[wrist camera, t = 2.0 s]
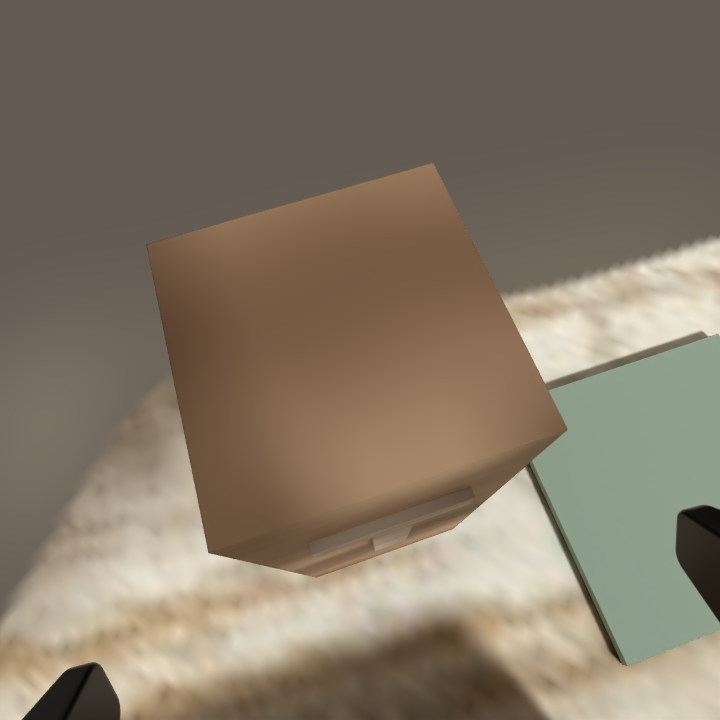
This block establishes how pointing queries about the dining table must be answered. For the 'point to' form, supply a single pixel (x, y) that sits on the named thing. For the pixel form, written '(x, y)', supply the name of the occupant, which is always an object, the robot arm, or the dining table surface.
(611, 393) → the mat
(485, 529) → the dining table surface
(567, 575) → the dining table surface
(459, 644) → the dining table surface
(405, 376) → the letter block
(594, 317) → the dining table surface
